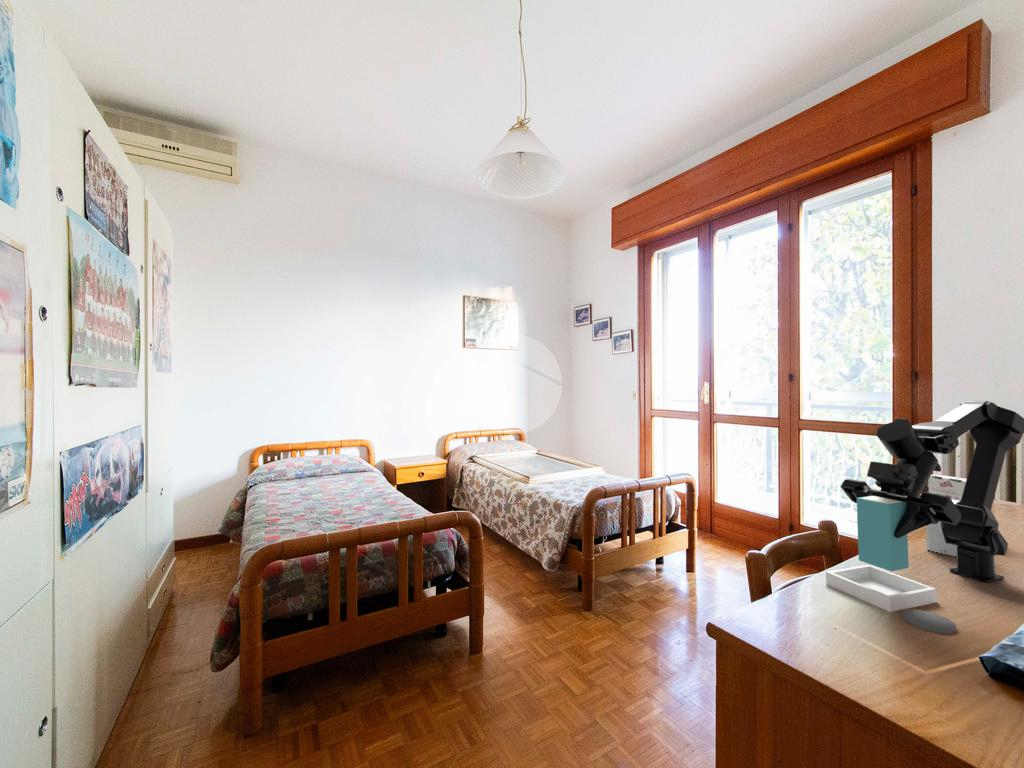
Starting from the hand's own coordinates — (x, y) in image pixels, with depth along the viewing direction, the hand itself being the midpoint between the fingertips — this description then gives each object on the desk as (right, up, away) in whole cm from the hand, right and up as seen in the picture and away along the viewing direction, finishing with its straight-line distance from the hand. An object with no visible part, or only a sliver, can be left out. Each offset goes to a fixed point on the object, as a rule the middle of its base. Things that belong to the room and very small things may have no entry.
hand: (877, 531), depth 87 cm
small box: (+39, -14, +25) cm, 49 cm away
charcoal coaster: (+1, -14, -10) cm, 17 cm away
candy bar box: (+55, -14, +37) cm, 68 cm away
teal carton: (+1, -7, 0) cm, 7 cm away
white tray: (+2, -14, +2) cm, 14 cm away
